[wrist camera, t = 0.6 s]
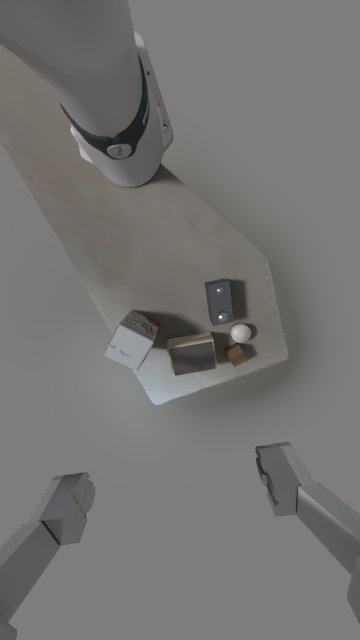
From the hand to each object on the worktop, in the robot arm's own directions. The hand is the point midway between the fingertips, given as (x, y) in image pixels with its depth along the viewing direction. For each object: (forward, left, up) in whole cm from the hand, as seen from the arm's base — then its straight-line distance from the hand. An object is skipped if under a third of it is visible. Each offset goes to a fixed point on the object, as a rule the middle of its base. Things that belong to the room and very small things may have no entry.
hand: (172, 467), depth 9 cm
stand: (+16, +1, -41) cm, 44 cm away
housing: (+3, +10, -41) cm, 42 cm away
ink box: (+7, -12, -41) cm, 43 cm away
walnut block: (+19, +13, -41) cm, 47 cm away
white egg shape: (+13, +15, -41) cm, 45 cm away
